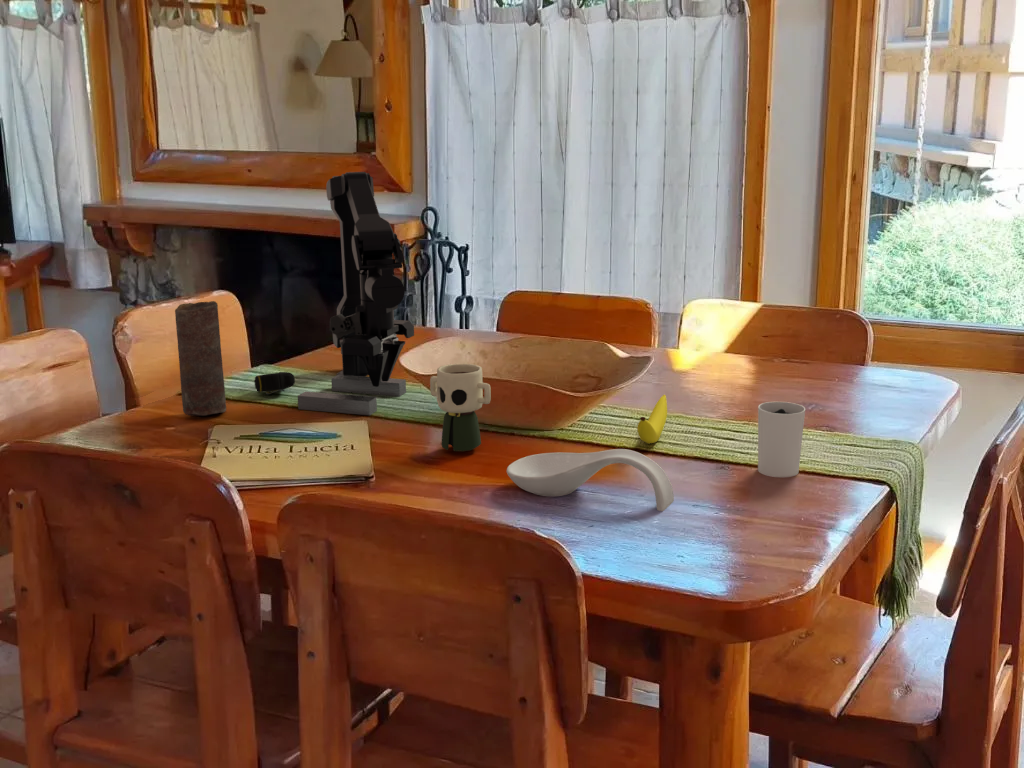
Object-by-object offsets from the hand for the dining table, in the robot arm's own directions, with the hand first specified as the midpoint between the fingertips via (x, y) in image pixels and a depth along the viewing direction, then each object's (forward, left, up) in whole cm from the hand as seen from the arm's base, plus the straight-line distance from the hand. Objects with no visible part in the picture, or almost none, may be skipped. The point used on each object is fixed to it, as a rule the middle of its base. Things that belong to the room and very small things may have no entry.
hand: (380, 383), depth 196 cm
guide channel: (0, -6, -4) cm, 7 cm away
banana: (+7, +51, -4) cm, 52 cm away
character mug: (+21, +23, -4) cm, 32 cm away
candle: (+16, -27, -4) cm, 31 cm away
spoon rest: (+35, +48, -4) cm, 59 cm away
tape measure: (-1, -19, -3) cm, 19 cm away
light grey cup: (+19, +72, -4) cm, 75 cm away
